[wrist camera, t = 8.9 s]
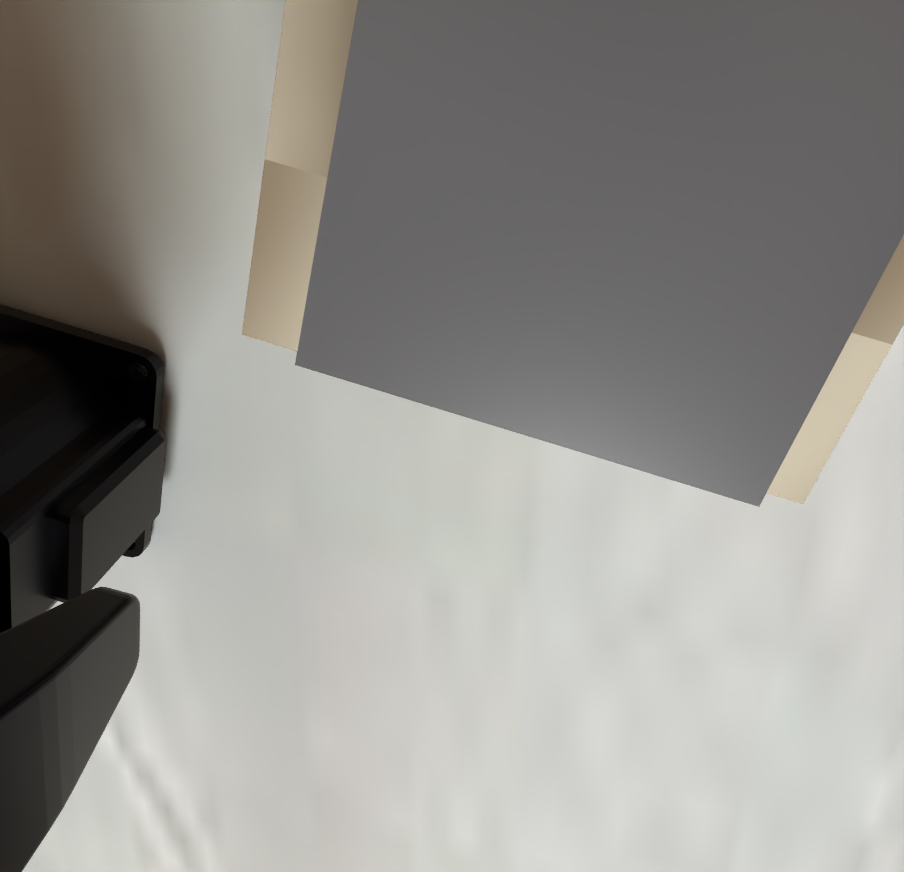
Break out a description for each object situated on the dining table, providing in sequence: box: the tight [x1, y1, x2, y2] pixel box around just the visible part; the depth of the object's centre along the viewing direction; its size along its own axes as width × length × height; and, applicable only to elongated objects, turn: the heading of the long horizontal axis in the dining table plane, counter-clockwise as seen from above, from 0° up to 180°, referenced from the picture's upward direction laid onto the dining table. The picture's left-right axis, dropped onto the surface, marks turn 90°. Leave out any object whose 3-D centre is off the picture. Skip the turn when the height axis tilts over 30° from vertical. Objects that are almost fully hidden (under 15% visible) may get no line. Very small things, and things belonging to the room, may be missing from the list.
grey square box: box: [295, 0, 904, 506], centre depth 12 cm, size 6×6×7 cm
